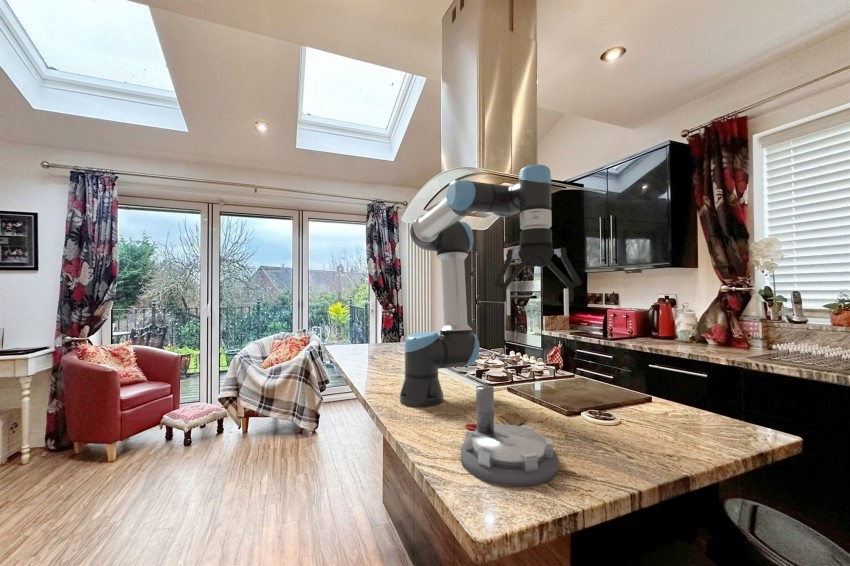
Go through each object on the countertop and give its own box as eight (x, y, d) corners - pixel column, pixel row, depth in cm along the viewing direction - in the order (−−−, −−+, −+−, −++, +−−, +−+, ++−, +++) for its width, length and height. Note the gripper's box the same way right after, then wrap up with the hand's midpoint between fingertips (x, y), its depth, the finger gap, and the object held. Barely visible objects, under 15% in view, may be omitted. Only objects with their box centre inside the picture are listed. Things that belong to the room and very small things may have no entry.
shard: (514, 433, 96) (514, 426, 96) (488, 427, 101) (488, 420, 101) (527, 421, 105) (527, 415, 105) (503, 416, 110) (502, 410, 110)
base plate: (468, 437, 92) (468, 428, 92) (554, 446, 87) (554, 437, 87) (452, 478, 72) (452, 467, 72) (563, 493, 66) (563, 481, 66)
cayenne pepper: (459, 426, 101) (459, 419, 101) (472, 423, 103) (472, 416, 104) (487, 441, 91) (487, 433, 91) (501, 437, 93) (501, 430, 93)
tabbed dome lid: (450, 452, 79) (450, 393, 79) (497, 429, 92) (496, 378, 93) (523, 481, 67) (522, 411, 67) (564, 449, 80) (563, 391, 80)
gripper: (483, 229, 88) (484, 315, 88) (593, 223, 81) (595, 317, 81) (486, 234, 95) (487, 313, 95) (587, 229, 89) (589, 315, 88)
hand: (536, 315), depth 88 cm, fingers open, 13 cm apart
